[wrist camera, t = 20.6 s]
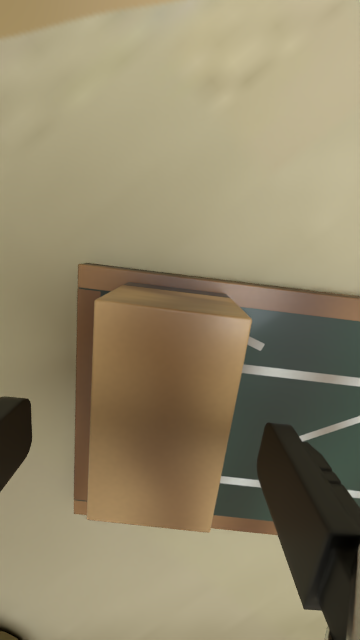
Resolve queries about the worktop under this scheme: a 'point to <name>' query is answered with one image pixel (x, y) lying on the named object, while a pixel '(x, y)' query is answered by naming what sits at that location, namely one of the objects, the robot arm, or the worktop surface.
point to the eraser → (162, 403)
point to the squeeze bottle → (6, 636)
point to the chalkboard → (254, 383)
